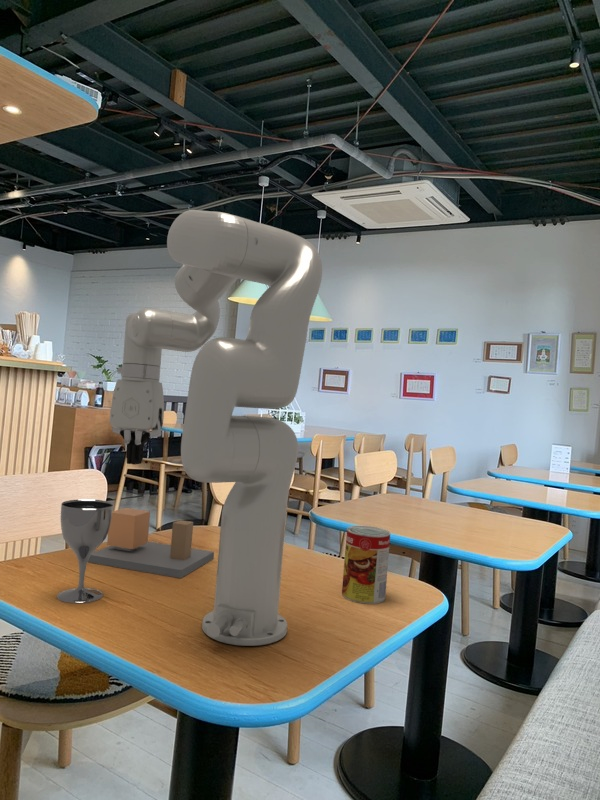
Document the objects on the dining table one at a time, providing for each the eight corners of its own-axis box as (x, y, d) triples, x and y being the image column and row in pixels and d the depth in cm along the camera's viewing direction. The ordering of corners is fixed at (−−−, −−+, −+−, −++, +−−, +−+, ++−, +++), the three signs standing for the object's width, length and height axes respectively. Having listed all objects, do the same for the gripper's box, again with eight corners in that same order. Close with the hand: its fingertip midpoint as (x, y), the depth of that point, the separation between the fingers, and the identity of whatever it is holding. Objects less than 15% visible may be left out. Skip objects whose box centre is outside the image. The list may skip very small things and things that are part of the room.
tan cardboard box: (132, 549, 116) (135, 515, 116) (107, 544, 118) (109, 512, 118) (147, 542, 122) (150, 511, 122) (123, 539, 123) (125, 507, 123)
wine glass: (45, 602, 92) (53, 506, 92) (64, 586, 99) (71, 497, 99) (97, 605, 92) (104, 510, 92) (111, 589, 100) (118, 501, 100)
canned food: (349, 586, 112) (354, 523, 112) (389, 594, 109) (394, 530, 109) (335, 598, 104) (341, 530, 104) (378, 607, 101) (384, 538, 101)
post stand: (180, 578, 108) (184, 532, 108) (87, 562, 114) (90, 518, 114) (213, 558, 123) (216, 518, 123) (129, 545, 128) (132, 506, 128)
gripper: (98, 370, 118) (91, 461, 118) (165, 375, 114) (157, 469, 114) (119, 373, 126) (112, 458, 125) (182, 377, 122) (175, 465, 121)
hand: (134, 463), depth 120 cm, fingers closed
